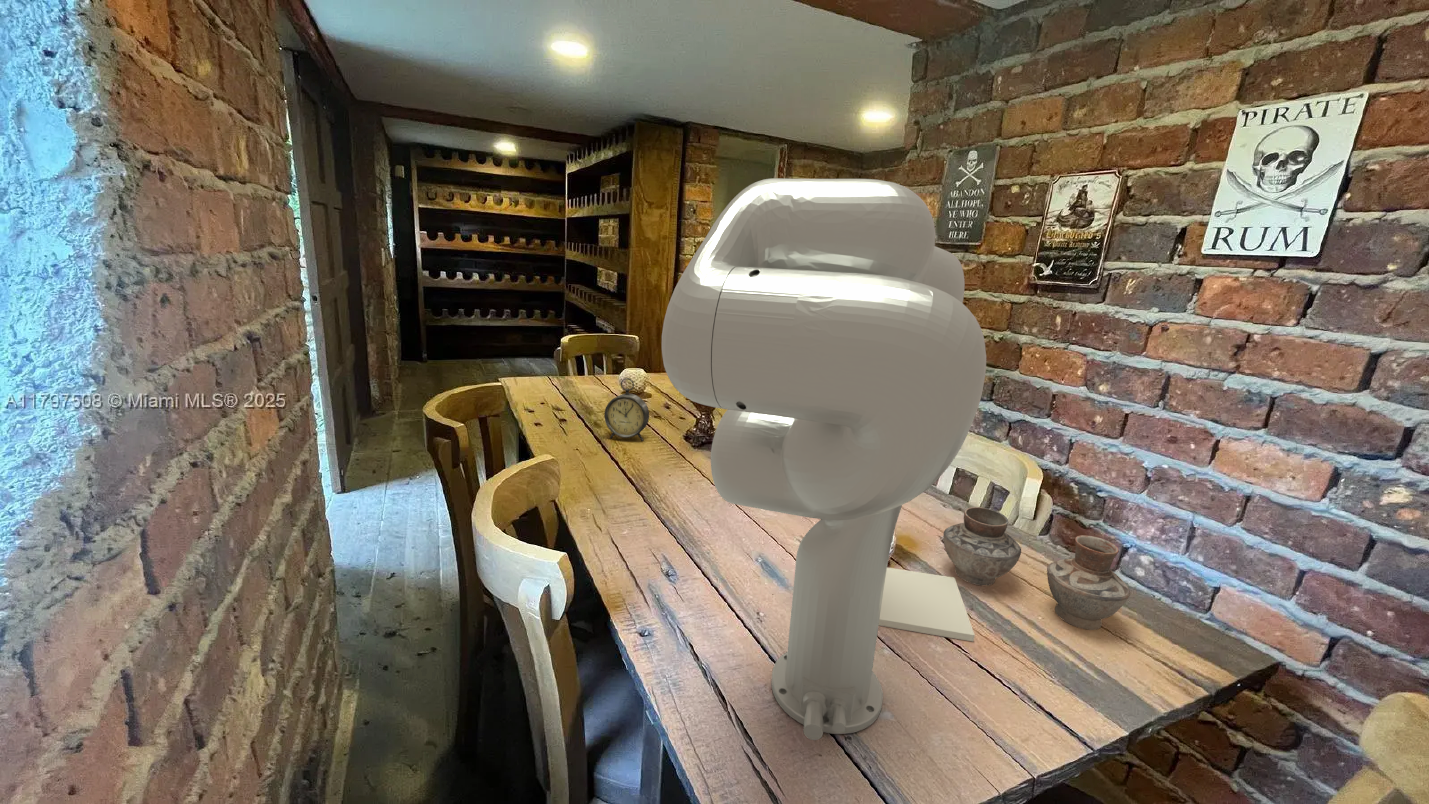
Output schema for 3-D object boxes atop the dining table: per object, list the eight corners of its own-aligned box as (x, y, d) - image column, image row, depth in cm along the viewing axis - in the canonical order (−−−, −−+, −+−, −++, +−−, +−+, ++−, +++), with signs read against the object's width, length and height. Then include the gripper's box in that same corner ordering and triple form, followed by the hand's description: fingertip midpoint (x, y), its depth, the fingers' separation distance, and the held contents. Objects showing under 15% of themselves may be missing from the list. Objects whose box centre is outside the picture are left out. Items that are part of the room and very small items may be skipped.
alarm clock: (603, 439, 144) (603, 378, 140) (611, 433, 149) (610, 374, 145) (644, 444, 143) (645, 382, 138) (650, 437, 148) (651, 377, 143)
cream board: (973, 641, 74) (974, 635, 74) (865, 623, 77) (865, 616, 77) (953, 583, 87) (954, 577, 87) (861, 569, 90) (862, 563, 90)
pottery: (1112, 654, 73) (1134, 573, 70) (926, 575, 90) (937, 507, 86) (1125, 616, 81) (1146, 542, 78) (952, 550, 98) (964, 487, 95)
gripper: (911, 378, 64) (891, 521, 69) (890, 352, 81) (875, 469, 86) (845, 373, 65) (830, 514, 70) (837, 348, 82) (825, 464, 87)
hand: (855, 488), depth 78 cm, fingers closed on supplement bottle, 4 cm apart
